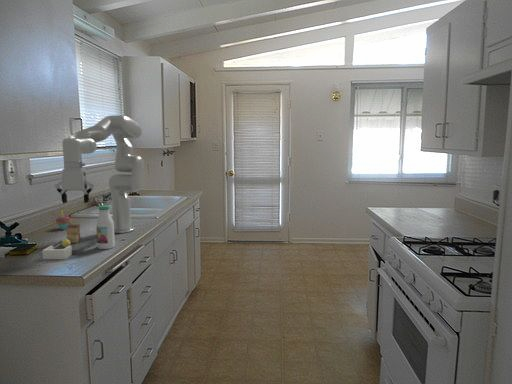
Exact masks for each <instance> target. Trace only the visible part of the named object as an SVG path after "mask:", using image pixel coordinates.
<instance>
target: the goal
mask: <svg viewBox="0 0 512 384" xmlns="http://www.w3.org/2000/svg"><path fill="white" fill-rule="evenodd" d="M72 255H73V254H72V246H68V247H66V248H64V249H53V245H50V246H48V247H45V248H44V249H42V259H43V260H66V259H67V258H69V257H70V256H72Z"/></svg>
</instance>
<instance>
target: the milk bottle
mask: <svg viewBox="0 0 512 384" xmlns="http://www.w3.org/2000/svg"><path fill="white" fill-rule="evenodd" d="M98 212H99V214H98V217H97V220H96V224H95V225H96V226H95V228H96V240H97V243H96V245H97V248H98V249H99V250H108V249H113V248H115V246H116V240H115V239H116V238H115V233H114V224H113V217H112V216H111V213H110V206H109V205H108V204H107V205H106V204H105V205H104V204H103V205H100V206H98Z"/></svg>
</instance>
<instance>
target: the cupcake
mask: <svg viewBox="0 0 512 384" xmlns="http://www.w3.org/2000/svg"><path fill="white" fill-rule="evenodd" d="M60 211H61V212H60V213H61V216H59V217H58V218H56V220H55V223H56V224H57V225H58V227H59V229H60V230H67V229H66V226H68V225H70V224H72V223H73V218H72V217H70V216H65V215H64V212H63V208H61V209H60Z"/></svg>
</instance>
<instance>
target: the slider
mask: <svg viewBox="0 0 512 384" xmlns="http://www.w3.org/2000/svg"><path fill="white" fill-rule="evenodd" d="M80 226H81V225H80V224H79V223H77V224H76V223H75V224H74V223H73V224H72V223H71V224H70V225H68V226H66V229H65V230H66V239H68V240H69V241H70V243H78V242H79V241H82V239H81V238H82V237H81V227H80Z"/></svg>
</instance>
